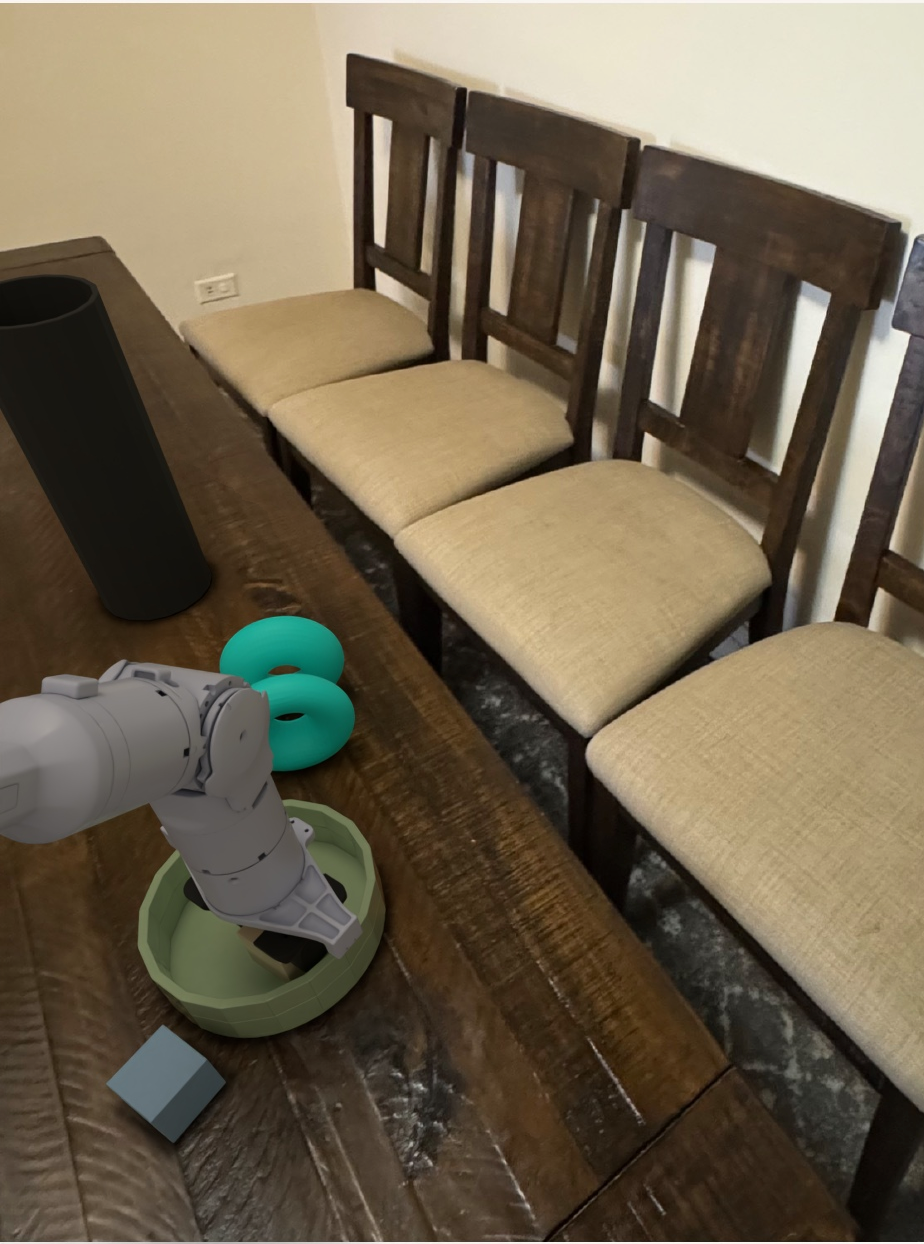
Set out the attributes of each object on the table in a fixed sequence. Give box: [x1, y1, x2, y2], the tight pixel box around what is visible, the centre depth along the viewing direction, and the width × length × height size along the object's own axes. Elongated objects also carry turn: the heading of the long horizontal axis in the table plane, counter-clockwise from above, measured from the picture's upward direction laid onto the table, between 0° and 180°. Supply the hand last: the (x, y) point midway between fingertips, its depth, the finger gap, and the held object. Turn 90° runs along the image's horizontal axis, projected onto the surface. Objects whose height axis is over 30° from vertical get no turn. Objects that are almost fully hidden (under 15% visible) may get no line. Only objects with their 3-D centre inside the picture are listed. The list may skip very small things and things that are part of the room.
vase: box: [0, 273, 213, 621], centre depth 77 cm, size 10×10×30 cm
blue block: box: [105, 1024, 227, 1144], centre depth 52 cm, size 4×4×4 cm
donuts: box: [219, 615, 356, 772], centre depth 71 cm, size 10×10×10 cm
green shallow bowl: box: [137, 798, 387, 1039], centre depth 60 cm, size 15×15×5 cm
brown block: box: [237, 926, 328, 983], centre depth 57 cm, size 4×4×4 cm
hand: (291, 941), depth 57 cm, fingers closed on brown block, 4 cm apart
